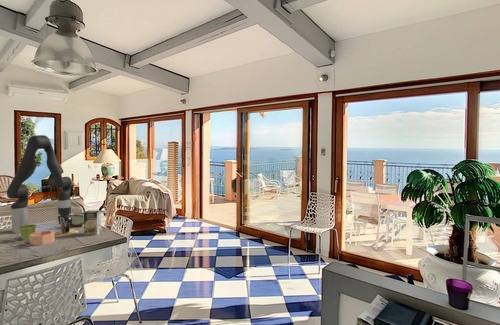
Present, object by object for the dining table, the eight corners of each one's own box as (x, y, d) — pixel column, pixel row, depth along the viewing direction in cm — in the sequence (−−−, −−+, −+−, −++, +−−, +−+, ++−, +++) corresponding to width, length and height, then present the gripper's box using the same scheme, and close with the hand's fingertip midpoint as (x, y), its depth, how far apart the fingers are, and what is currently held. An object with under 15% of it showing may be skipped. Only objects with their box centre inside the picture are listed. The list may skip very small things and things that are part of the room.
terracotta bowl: (26, 244, 182) (26, 234, 182) (48, 238, 193) (47, 229, 192) (36, 247, 176) (35, 237, 176) (57, 241, 186) (57, 232, 186)
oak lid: (47, 235, 197) (47, 225, 197) (70, 230, 210) (70, 220, 210) (59, 238, 190) (59, 228, 190) (82, 232, 203) (82, 222, 202)
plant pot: (22, 242, 185) (22, 229, 185) (16, 240, 190) (15, 227, 190) (39, 238, 193) (39, 225, 193) (33, 236, 198) (32, 223, 198)
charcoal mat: (45, 236, 197) (45, 235, 197) (71, 230, 212) (71, 229, 212) (59, 240, 189) (58, 239, 188) (85, 233, 203) (85, 232, 203)
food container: (89, 225, 224) (88, 212, 224) (84, 227, 218) (83, 214, 218) (74, 225, 226) (73, 212, 225) (68, 227, 219) (68, 214, 219)
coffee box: (83, 236, 198) (82, 212, 197) (88, 233, 204) (87, 210, 203) (97, 235, 198) (96, 212, 197) (101, 233, 205) (101, 210, 204)
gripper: (52, 206, 199) (54, 231, 200) (64, 208, 192) (65, 234, 193) (64, 204, 206) (65, 228, 207) (76, 206, 199) (77, 231, 200)
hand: (65, 231), depth 200 cm, fingers open, 4 cm apart
